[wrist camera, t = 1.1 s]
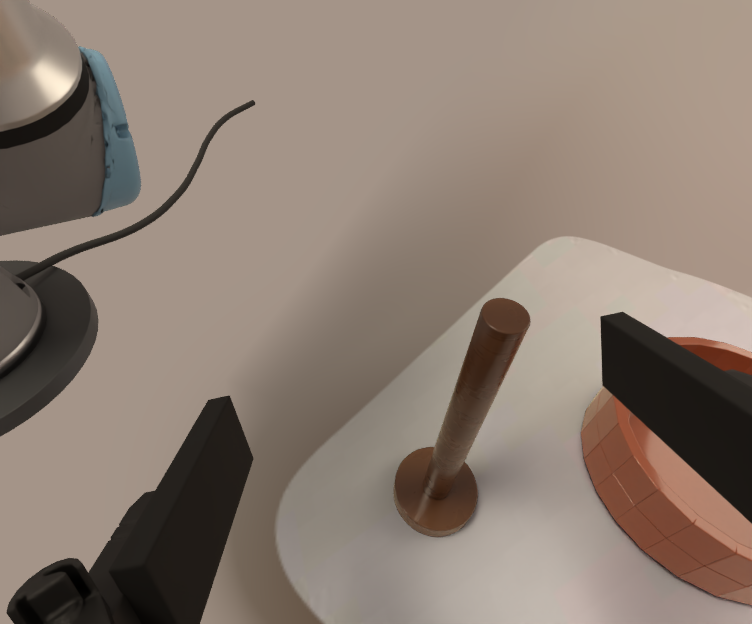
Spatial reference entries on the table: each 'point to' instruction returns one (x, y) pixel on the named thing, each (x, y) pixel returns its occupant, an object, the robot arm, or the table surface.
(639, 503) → the bowl
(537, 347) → the table surface
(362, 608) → the table surface
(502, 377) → the paper towel holder
